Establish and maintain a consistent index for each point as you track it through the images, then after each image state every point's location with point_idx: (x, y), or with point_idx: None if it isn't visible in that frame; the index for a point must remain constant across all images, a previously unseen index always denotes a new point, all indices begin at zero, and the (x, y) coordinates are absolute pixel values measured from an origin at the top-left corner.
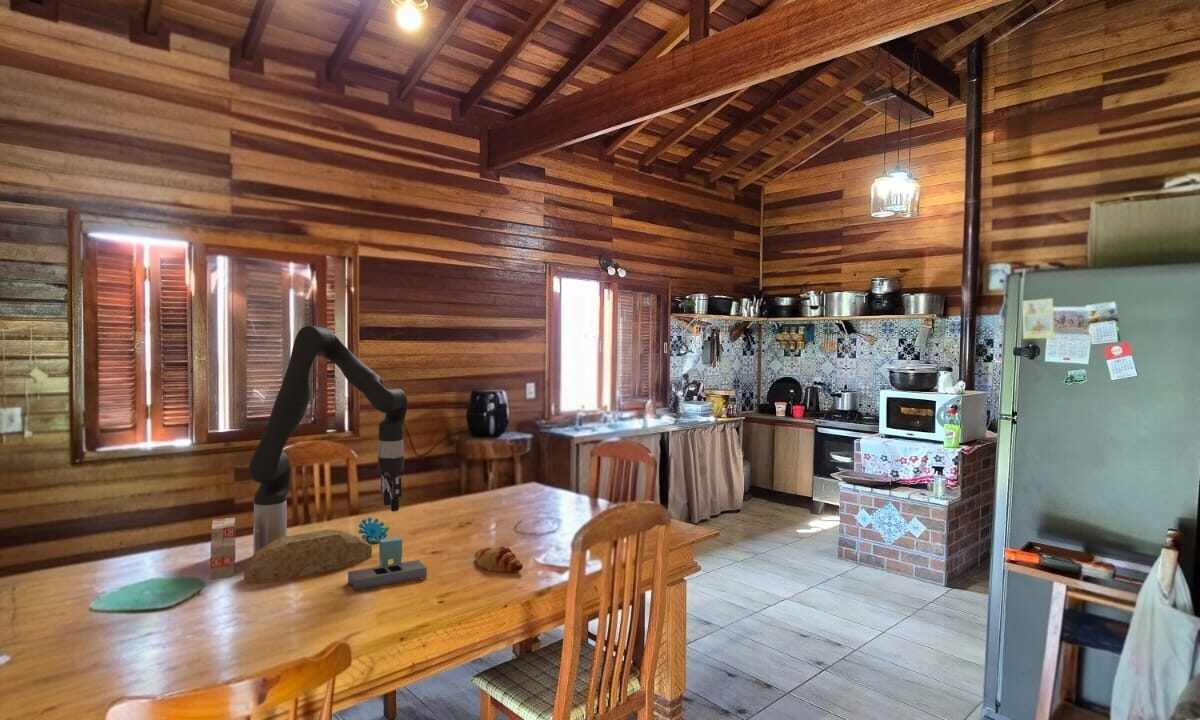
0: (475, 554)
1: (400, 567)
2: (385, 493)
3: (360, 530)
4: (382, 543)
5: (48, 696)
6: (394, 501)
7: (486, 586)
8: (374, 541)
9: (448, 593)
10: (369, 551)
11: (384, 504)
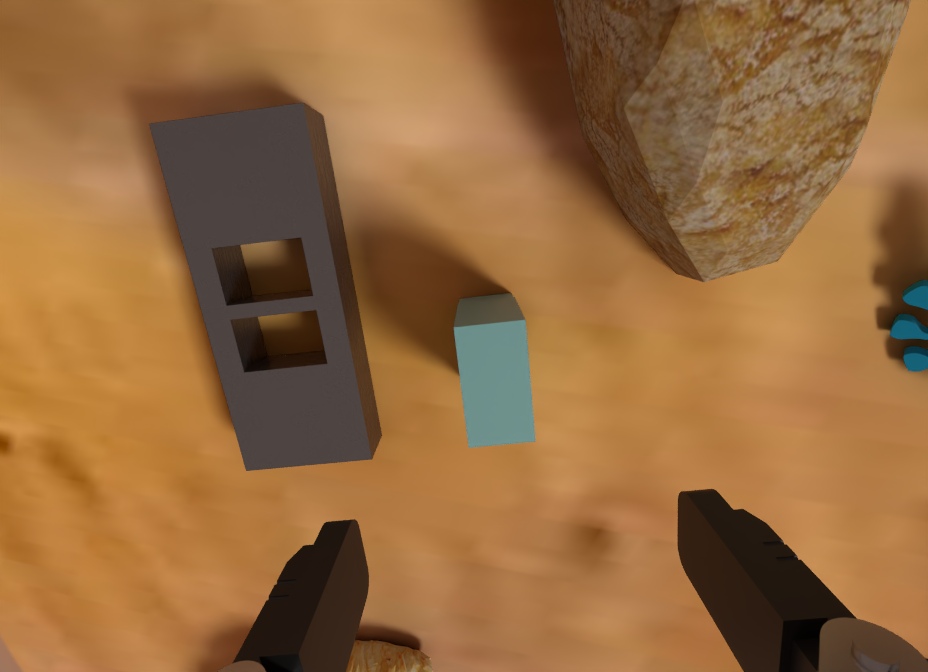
0: (391, 665)
1: (288, 368)
2: (779, 643)
3: None
4: (454, 328)
5: None
6: (249, 658)
7: (122, 603)
8: (906, 317)
9: (79, 482)
10: (679, 264)
11: (682, 497)
